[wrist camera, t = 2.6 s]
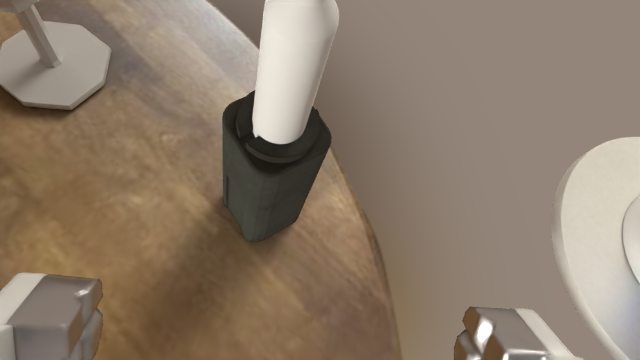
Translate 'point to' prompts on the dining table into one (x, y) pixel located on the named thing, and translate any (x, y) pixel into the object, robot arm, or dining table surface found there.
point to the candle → (279, 119)
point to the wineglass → (50, 60)
